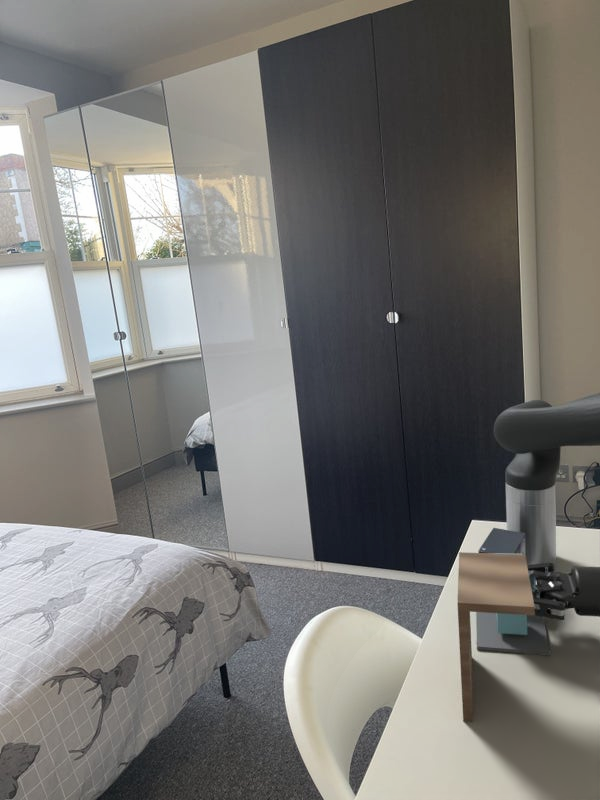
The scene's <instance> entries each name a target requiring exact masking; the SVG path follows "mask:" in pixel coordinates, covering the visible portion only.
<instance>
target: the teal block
mask: <svg viewBox="0 0 600 800" xmlns="http://www.w3.org/2000/svg"><path fill="white" fill-rule="evenodd" d="M495 554H507V553H495ZM497 626H498V633H503V634H520V635H527V615H519V614H502V613H497Z"/></svg>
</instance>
